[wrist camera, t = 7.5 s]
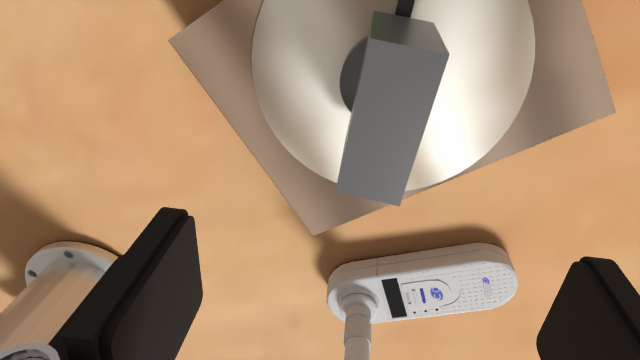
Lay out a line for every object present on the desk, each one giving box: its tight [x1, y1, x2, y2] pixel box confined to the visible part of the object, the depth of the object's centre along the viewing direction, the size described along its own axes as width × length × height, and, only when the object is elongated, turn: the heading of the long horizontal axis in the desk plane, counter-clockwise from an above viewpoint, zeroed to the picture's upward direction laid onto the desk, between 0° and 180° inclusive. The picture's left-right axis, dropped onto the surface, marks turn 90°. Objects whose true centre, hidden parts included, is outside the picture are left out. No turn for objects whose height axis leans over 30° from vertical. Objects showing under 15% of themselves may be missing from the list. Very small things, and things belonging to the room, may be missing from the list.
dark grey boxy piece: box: [336, 0, 450, 206], centre depth 20 cm, size 10×5×7 cm, turn 170°
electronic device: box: [327, 242, 518, 360], centre depth 31 cm, size 5×10×15 cm
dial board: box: [168, 0, 616, 236], centre depth 25 cm, size 20×16×3 cm
